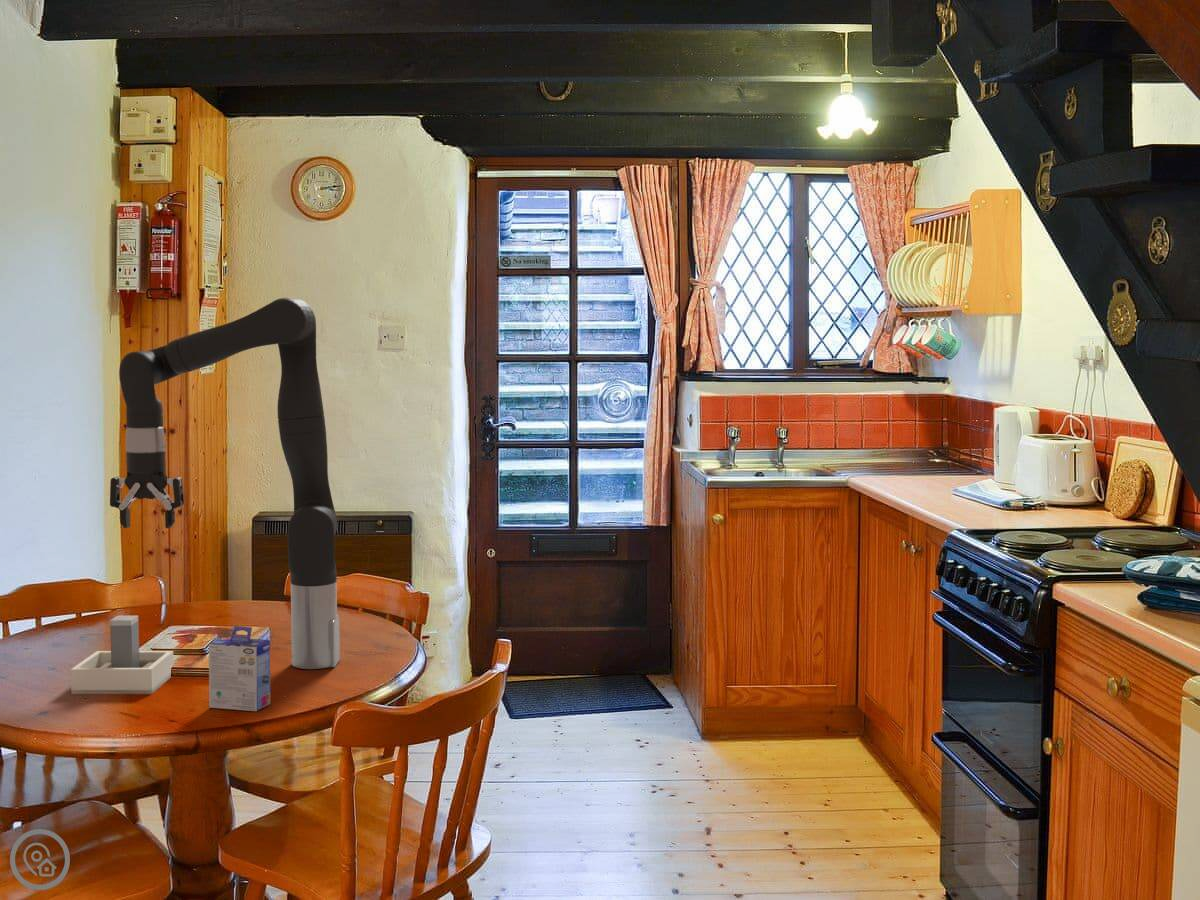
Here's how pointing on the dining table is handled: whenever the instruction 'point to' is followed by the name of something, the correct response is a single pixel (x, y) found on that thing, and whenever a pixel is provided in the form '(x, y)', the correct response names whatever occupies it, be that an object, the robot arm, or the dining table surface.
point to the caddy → (121, 674)
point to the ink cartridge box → (239, 672)
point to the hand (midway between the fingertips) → (147, 527)
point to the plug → (124, 642)
